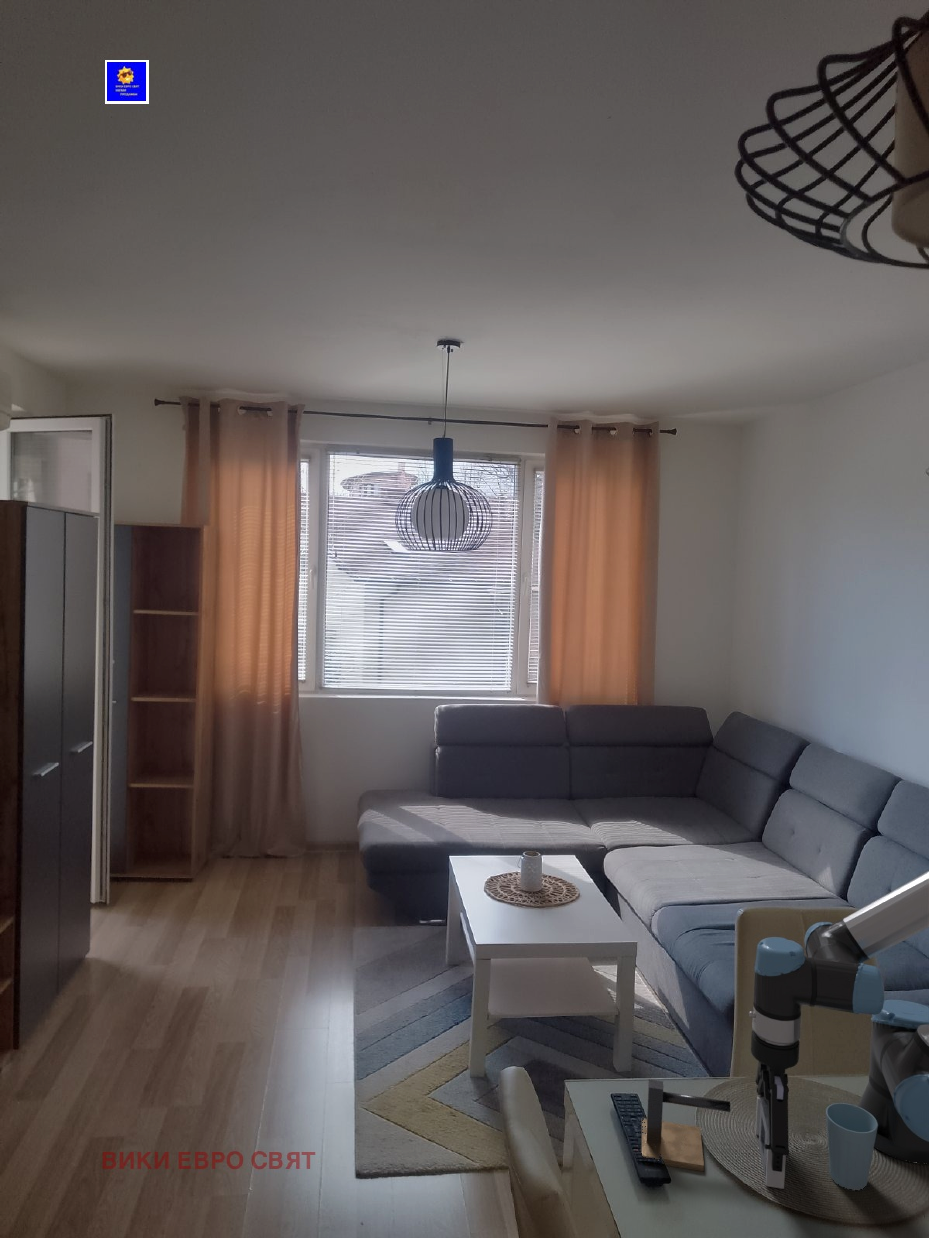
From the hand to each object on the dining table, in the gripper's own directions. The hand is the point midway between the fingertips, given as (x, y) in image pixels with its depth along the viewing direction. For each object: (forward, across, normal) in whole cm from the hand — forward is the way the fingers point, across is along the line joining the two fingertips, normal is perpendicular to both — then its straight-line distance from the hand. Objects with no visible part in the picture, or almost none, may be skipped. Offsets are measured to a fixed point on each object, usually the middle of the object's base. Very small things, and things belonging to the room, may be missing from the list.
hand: (768, 1159), depth 143 cm
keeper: (0, +1, -14) cm, 14 cm away
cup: (0, +2, +12) cm, 12 cm away
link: (0, 0, 0) cm, 0 cm away
